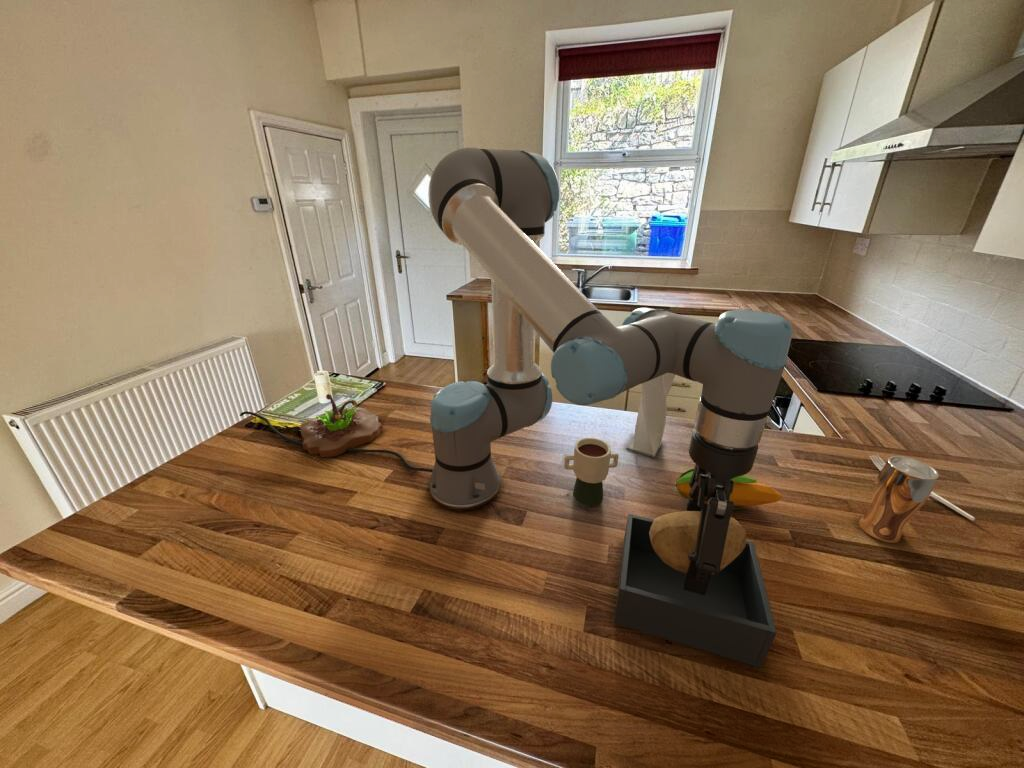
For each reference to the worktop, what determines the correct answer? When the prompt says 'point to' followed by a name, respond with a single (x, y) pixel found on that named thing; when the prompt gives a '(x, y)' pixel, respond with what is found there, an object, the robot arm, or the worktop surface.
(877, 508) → the silver curved cylinder
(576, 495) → the character mug
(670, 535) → the potato
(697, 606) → the bin
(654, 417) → the skyscraper
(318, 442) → the plant
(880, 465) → the fork
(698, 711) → the worktop surface
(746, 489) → the corn
